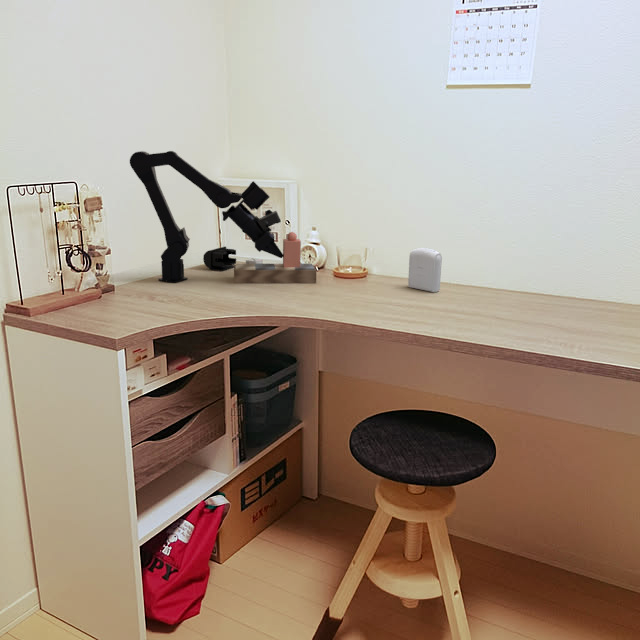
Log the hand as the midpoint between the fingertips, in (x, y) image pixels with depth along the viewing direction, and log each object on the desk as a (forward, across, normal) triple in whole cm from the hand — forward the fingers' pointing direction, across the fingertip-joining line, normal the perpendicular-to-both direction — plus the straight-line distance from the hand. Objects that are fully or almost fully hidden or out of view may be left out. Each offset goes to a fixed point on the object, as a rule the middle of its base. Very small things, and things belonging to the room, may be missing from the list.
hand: (282, 256), depth 200 cm
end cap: (-9, +20, +19) cm, 29 cm away
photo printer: (+35, -13, -24) cm, 44 cm away
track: (+3, 0, +7) cm, 8 cm away
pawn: (+4, 0, 0) cm, 4 cm away
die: (-1, +13, +11) cm, 17 cm away
